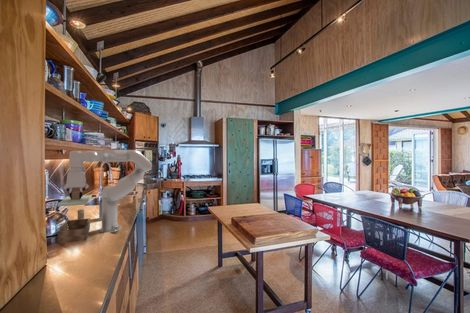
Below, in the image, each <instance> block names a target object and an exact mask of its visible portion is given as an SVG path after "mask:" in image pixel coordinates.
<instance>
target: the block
mask: <svg viewBox="0 0 470 313" xmlns="http://www.w3.org/2000/svg"><path fill="white" fill-rule="evenodd" d="M85 217H86V209H85V208H78V209H77V219H86V218H85Z"/></svg>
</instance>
